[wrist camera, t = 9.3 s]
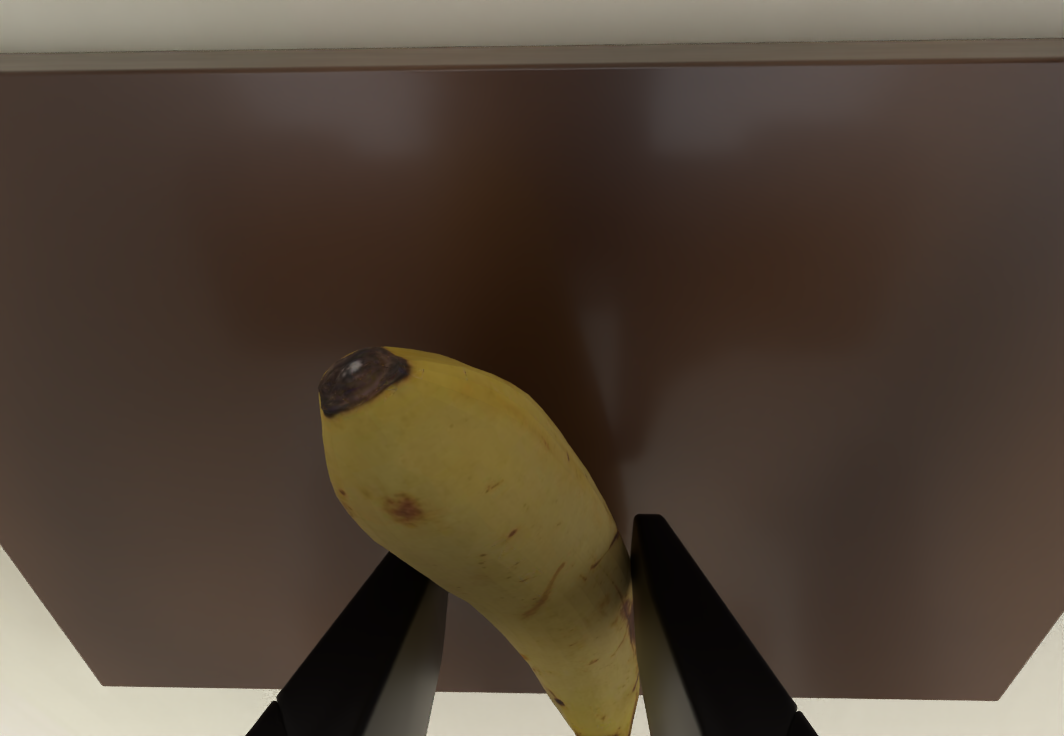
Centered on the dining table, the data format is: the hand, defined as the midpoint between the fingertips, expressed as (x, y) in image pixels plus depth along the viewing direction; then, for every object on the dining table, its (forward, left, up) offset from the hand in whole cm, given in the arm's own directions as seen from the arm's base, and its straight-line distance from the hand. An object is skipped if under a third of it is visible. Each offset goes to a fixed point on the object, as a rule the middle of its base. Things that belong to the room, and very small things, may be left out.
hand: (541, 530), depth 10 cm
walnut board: (0, 0, -2) cm, 2 cm away
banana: (0, 0, -1) cm, 1 cm away
